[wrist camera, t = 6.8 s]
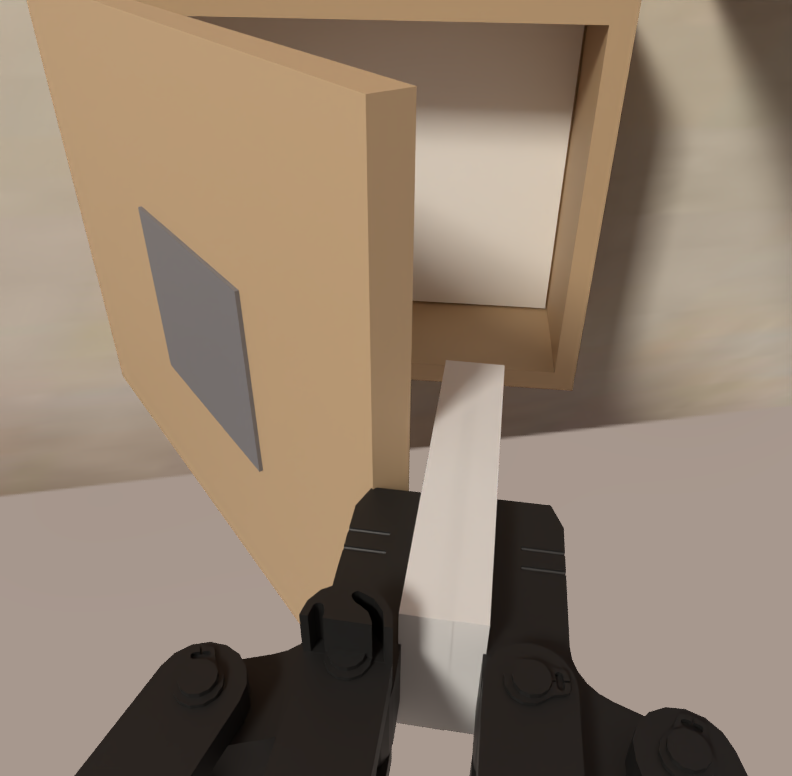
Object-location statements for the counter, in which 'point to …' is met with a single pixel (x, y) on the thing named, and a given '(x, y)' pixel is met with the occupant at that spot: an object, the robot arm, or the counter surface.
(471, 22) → the base
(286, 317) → the mailer lid
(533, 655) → the robot arm
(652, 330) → the counter surface
